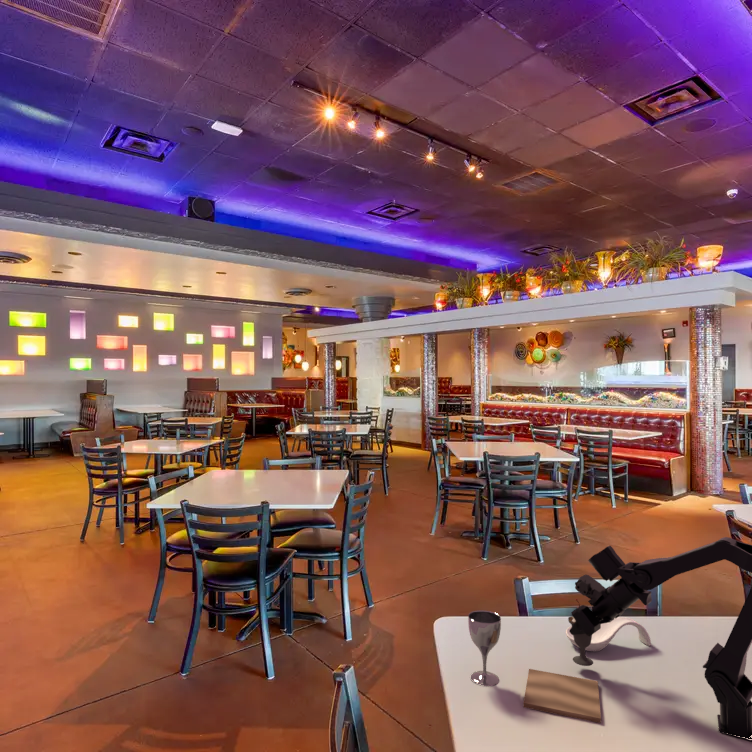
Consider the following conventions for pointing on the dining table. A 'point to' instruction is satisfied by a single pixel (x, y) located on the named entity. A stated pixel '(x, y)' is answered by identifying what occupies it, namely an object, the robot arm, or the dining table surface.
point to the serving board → (562, 695)
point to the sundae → (581, 645)
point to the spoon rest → (611, 633)
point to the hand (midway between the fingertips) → (576, 629)
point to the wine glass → (484, 641)
